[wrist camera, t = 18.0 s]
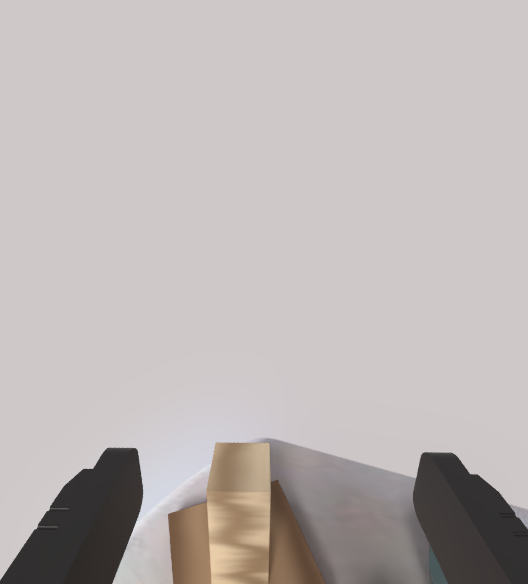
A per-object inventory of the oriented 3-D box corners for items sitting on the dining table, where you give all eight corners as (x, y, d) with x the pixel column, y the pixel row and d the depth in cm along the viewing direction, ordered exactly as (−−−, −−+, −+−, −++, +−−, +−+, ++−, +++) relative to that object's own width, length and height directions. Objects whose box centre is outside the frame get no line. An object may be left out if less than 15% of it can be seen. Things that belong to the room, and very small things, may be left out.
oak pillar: (267, 527, 36) (269, 443, 32) (268, 585, 31) (270, 492, 27) (219, 527, 36) (215, 442, 32) (211, 585, 31) (206, 491, 27)
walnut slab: (277, 496, 43) (277, 479, 42) (332, 623, 30) (334, 603, 30) (170, 532, 38) (168, 514, 37) (182, 698, 26) (180, 677, 25)
